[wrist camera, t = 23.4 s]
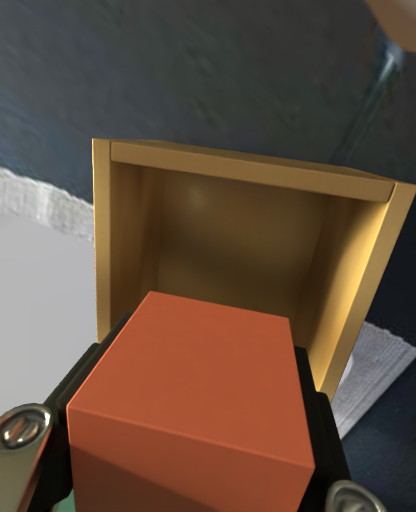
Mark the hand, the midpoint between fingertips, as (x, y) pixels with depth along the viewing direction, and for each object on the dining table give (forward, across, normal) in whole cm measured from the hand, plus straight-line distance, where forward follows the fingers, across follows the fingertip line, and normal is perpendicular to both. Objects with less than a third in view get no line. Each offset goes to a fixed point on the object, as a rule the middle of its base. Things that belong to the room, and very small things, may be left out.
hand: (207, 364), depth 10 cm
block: (0, 0, 0) cm, 0 cm away
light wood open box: (+12, 0, +1) cm, 12 cm away
